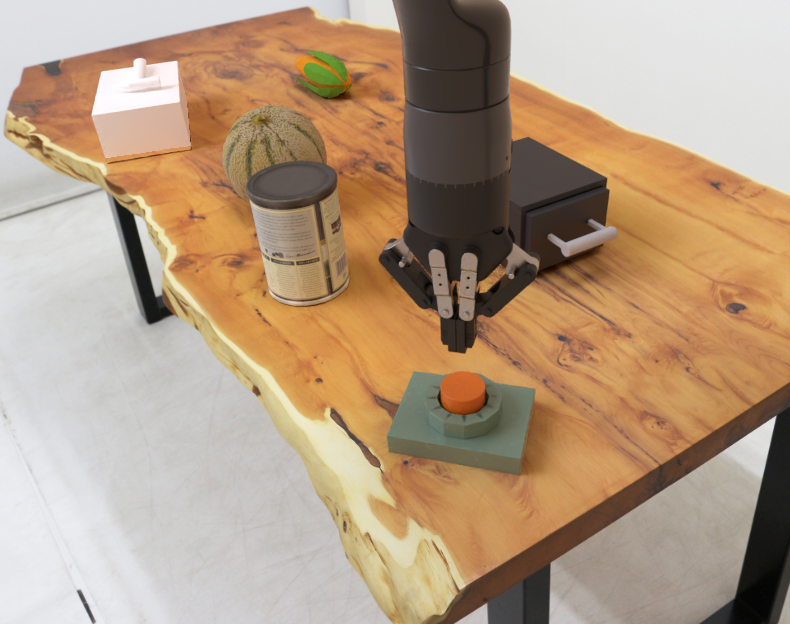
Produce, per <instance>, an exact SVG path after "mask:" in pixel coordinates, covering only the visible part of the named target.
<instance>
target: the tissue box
mask: <svg viewBox="0 0 790 624" xmlns="http://www.w3.org/2000/svg"><path fill="white" fill-rule="evenodd" d="M184 86H185V85H184V83H183V79H182V74H181V70H180V66H179V62H178V60H174V61H166V62H165V61H164V62H159V63H152V64H147V60H146V59H145V58H142V57H137V58H135V59H134V60H133V66H132V67H123V68H117V69H109V70H103V71H101V72H100V76H99V80H98V84H97V89H96V93H95V98H94V102H93V107H92V110H91V114H90V115H91V119H92V123H93V126H94V129H95V131H96V135H97V137H98V140H99V143H100V146H101V149H102V153H103V155H104V156H103V157H104V159H105V158H111V157H117V156H124V155H132V154H140V153H146V152H152V151H159V150H163V149H170V148H179V147H188V146H191V147H192V141H191V142H190V135H191V129H190V130H189V124H190V118H189V119H188V112H189V107H188V108H187V102H188V99H187V95H186V91H185V90H186V89H185V87H184Z"/></svg>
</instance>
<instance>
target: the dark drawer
mask: <svg viewBox="0 0 790 624" xmlns="http://www.w3.org/2000/svg"><path fill="white" fill-rule="evenodd" d="M610 191H611V189H609V188H608V187H606V188H605V187H604V186H602V187H599V188H596V189H594V190H591V191H590V190H587V191H584V192H581V193H578V194H576V195H573V196H570V197H567V198H564V199H561V200H558V201H555V202H552V203H549V204H546V205H543V206H541V207H538V208H535V209H532V210H529V211H526V214H525V237H524V251H525V252H526V253H529V252H535V253H537V254H538V255H539V256H540V263H539V268H538V272H539V271H541V270H544V269H546V268H549V267H552V266H554V265H557V264H560V263H562V262H565V261H568V260H571V259H573V258H575V257H579V256H581V255H583V254H586V253H589V252H591V251H594V250H597V249H600V248H602V247H604V244H606V243H608V242H610V241H613V240H616V239H617V238H618V231H617V228H616V227H614V226H613V225H610V226H607V217H608V216H607V215H608V210H609V209H608V208H609V200H610ZM606 226H607V227H606Z"/></svg>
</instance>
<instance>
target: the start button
mask: <svg viewBox="0 0 790 624" xmlns="http://www.w3.org/2000/svg"><path fill="white" fill-rule="evenodd" d="M474 373H475V372H471V371H465V370H460V371H455V372H451V374H450V373H448V374H449V375H447V376H446V377H445V378H444V379H443V380H442V382H441V385H440V390H441V403H442V405H443V407H444V408H445V409H446V410H447V411H449V412H450V413H453V414H458V415H469V414H473V413H476V412H478V411H479V410H480V409H481V408H482V407H483V406H484V404H485V383H484V381H483V379H482V378H481V377H480V376H478V375H477V374H474Z"/></svg>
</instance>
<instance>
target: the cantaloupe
mask: <svg viewBox="0 0 790 624" xmlns="http://www.w3.org/2000/svg"><path fill="white" fill-rule="evenodd" d="M327 155H328V154H327V148H326V144H325V140H324V139H323V136H322V134H321V132H320V131H319V129H317V127H316V125H315V123H313V122H312V121H311V120H310V119H309V118H308V117H306V115H304V114H303V113H302V112H300V111H299V110H297V109H294V108H291V107H288V106H285V105H275V104H273V105H272V104H268V105H262V106H259V107H257V108H254V109H251V110H249V111H247V112H245V113H244V114H242V115H241V116H240V117H239V118H237V119H236V120H235V122H234V123H233V124H232V126H231V127H230V129H229V131H228V133H227V136H226V138H225V141H224V143H223V146H222V155H221V159H222V161H221V164H222V168H223V171H224V174H225V178H226V179H227V181H228V183H229V185H230V186H231V188H232V189H233V190H234V191H235V193H236V194H237V195H238V196H239V198H241V199H242V200H244V201H245V202H246V203H248V204H249V205H251V204H250V200H249V196H248V194H247V191H246V183H247V181H248V180H249V178H250V177H251V176H253V175H254V174H255V173H257V172H258V171H260V170H262V169H265V168H267V167H269V166H272V165H276V164H279V163H284V162H290V161H315V162H320V163H324V164H327V165H328V161H327V160H328V156H327Z"/></svg>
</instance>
